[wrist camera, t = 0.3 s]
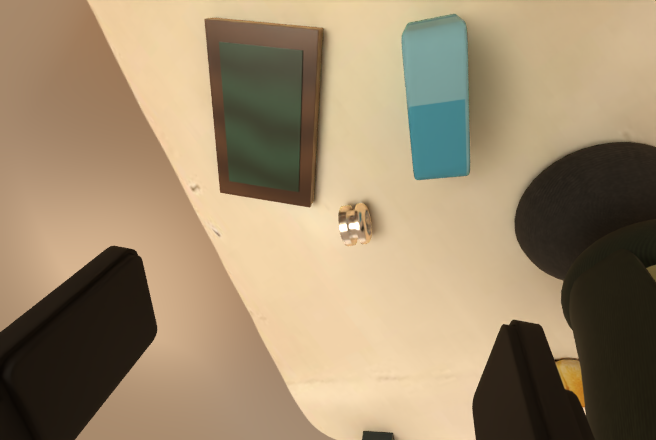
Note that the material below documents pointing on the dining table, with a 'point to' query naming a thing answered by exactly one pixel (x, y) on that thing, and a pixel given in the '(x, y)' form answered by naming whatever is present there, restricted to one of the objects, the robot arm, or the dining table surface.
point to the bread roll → (571, 377)
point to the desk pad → (265, 107)
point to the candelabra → (603, 275)
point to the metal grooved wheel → (355, 224)
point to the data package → (437, 96)
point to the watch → (377, 436)
